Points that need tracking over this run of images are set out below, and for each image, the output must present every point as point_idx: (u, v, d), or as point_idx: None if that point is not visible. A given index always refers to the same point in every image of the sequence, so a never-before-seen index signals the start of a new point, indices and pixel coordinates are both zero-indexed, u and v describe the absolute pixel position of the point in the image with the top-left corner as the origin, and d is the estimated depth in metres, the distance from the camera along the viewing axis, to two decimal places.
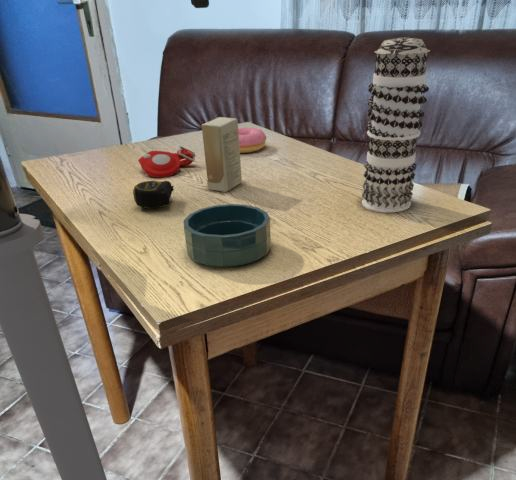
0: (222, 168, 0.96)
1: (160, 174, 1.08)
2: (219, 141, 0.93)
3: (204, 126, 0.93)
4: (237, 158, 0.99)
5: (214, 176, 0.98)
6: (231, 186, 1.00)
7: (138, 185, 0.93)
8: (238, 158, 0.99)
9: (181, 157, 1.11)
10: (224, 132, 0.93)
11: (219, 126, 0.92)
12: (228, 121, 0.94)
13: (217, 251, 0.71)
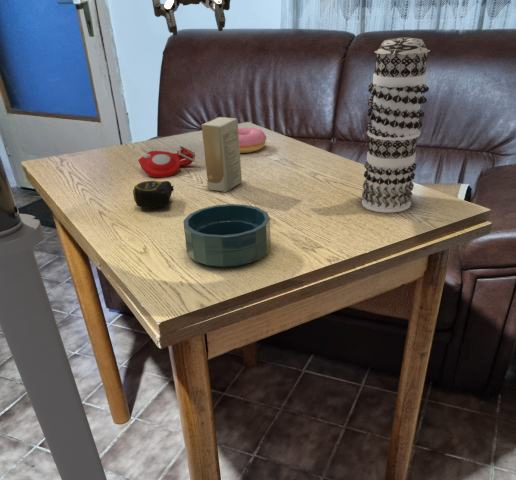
0: (222, 168, 0.96)
1: (160, 174, 1.08)
2: (219, 141, 0.93)
3: (204, 126, 0.93)
4: (237, 158, 0.99)
5: (214, 176, 0.98)
6: (231, 186, 1.00)
7: (138, 185, 0.93)
8: (238, 158, 0.99)
9: (181, 157, 1.11)
10: (224, 132, 0.93)
11: (219, 126, 0.92)
12: (228, 121, 0.94)
13: (217, 251, 0.71)
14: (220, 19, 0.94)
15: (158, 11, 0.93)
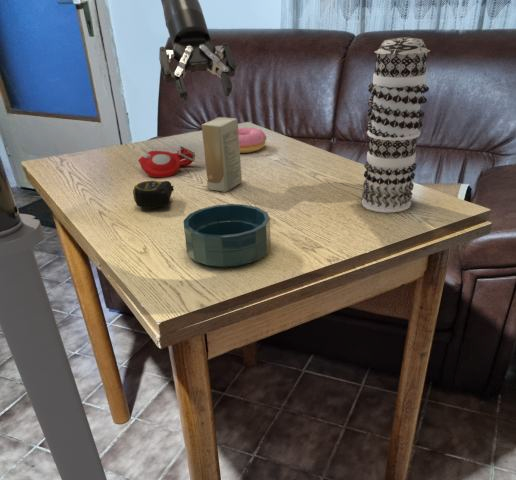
0: (222, 168, 0.96)
1: (160, 174, 1.08)
2: (219, 141, 0.93)
3: (204, 126, 0.93)
4: (237, 158, 0.99)
5: (214, 176, 0.98)
6: (231, 186, 1.00)
7: (138, 185, 0.93)
8: (238, 158, 0.99)
9: (181, 157, 1.11)
10: (224, 131, 0.93)
11: (219, 126, 0.92)
12: (228, 121, 0.94)
13: (217, 251, 0.71)
14: (227, 86, 0.99)
15: (168, 78, 0.97)
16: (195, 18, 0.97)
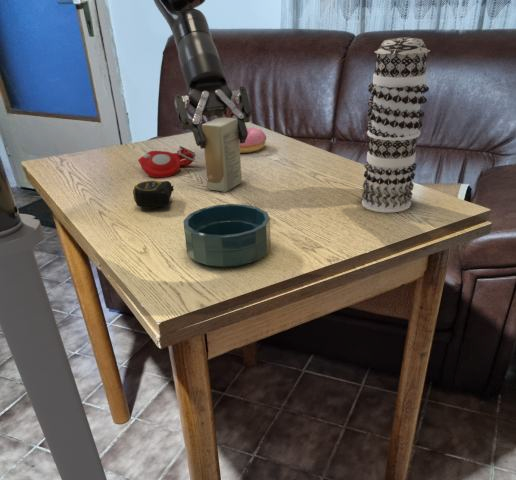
0: (222, 168, 0.96)
1: (160, 174, 1.08)
2: (219, 141, 0.93)
3: (204, 126, 0.93)
4: (237, 158, 0.99)
5: (214, 176, 0.98)
6: (231, 186, 1.00)
7: (138, 185, 0.93)
8: (238, 158, 0.99)
9: (181, 157, 1.11)
10: (224, 132, 0.93)
11: (219, 126, 0.92)
12: (228, 121, 0.94)
13: (217, 251, 0.71)
14: (243, 133, 0.96)
15: (186, 125, 0.94)
16: (211, 63, 0.94)
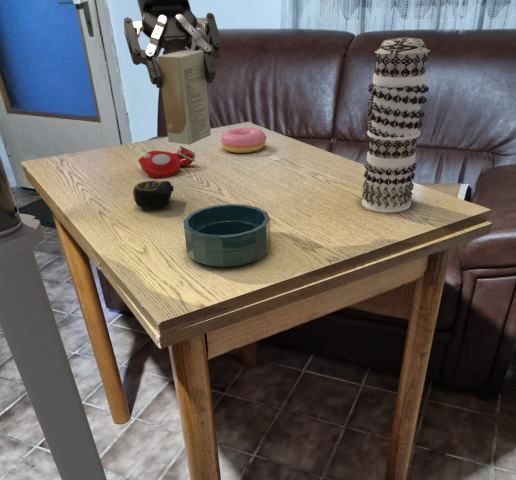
0: (184, 113, 0.77)
1: (160, 174, 1.08)
2: (179, 77, 0.74)
3: (160, 58, 0.74)
4: (204, 104, 0.80)
5: (175, 125, 0.79)
6: (196, 138, 0.81)
7: (138, 185, 0.93)
8: (205, 103, 0.80)
9: (181, 157, 1.11)
10: (185, 65, 0.74)
11: (178, 57, 0.73)
12: (191, 53, 0.75)
13: (217, 251, 0.71)
14: (210, 69, 0.76)
15: (138, 58, 0.75)
16: None
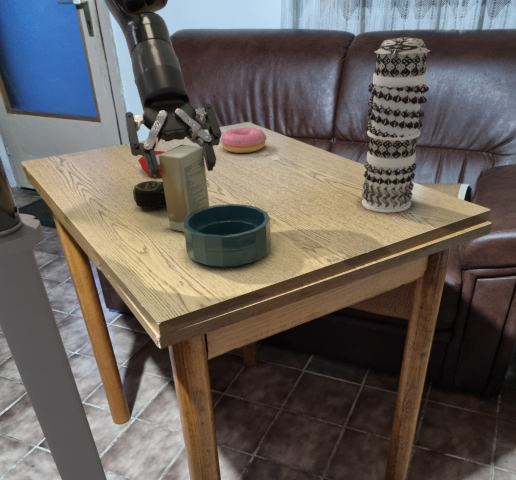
0: (184, 206, 0.81)
1: (160, 174, 1.08)
2: (179, 174, 0.78)
3: (162, 157, 0.78)
4: (204, 193, 0.84)
5: (176, 215, 0.82)
6: None
7: (138, 185, 0.93)
8: (205, 193, 0.84)
9: None
10: (185, 164, 0.77)
11: (179, 157, 0.76)
12: (191, 151, 0.78)
13: (217, 251, 0.71)
14: (210, 159, 0.80)
15: (136, 151, 0.78)
16: (170, 77, 0.78)
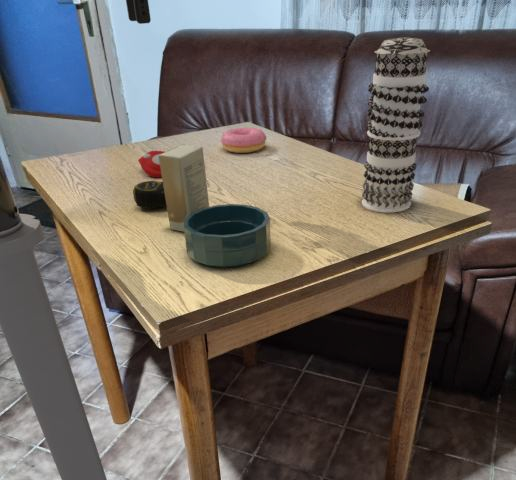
0: (184, 206, 0.81)
1: (160, 174, 1.08)
2: (179, 174, 0.78)
3: (161, 157, 0.78)
4: (204, 193, 0.84)
5: (176, 215, 0.82)
6: None
7: (138, 185, 0.93)
8: (205, 193, 0.84)
9: None
10: (185, 164, 0.77)
11: (179, 157, 0.76)
12: (191, 151, 0.78)
13: (217, 251, 0.71)
14: (136, 17, 0.83)
15: None
16: None
